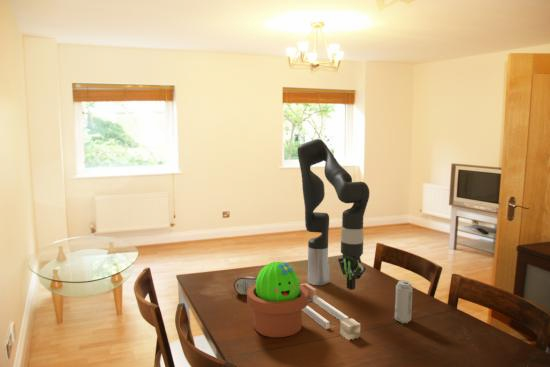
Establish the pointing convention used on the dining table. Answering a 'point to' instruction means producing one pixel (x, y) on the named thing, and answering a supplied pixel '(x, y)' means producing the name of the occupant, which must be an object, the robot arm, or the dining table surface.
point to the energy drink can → (403, 301)
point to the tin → (244, 283)
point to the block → (350, 329)
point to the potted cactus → (277, 300)
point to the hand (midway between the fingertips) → (350, 288)
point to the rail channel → (322, 304)
